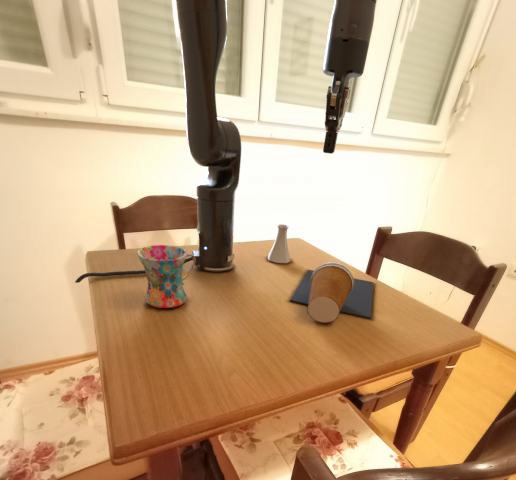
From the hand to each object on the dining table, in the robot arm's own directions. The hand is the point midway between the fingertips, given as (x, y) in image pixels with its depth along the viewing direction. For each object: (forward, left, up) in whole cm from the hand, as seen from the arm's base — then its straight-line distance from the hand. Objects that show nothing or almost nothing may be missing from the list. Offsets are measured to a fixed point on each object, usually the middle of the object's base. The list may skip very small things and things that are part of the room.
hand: (328, 153), depth 66 cm
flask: (-2, +17, -29) cm, 34 cm away
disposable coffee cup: (-5, -21, -26) cm, 34 cm away
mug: (-34, -8, -29) cm, 45 cm away
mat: (+6, -6, -29) cm, 30 cm away
